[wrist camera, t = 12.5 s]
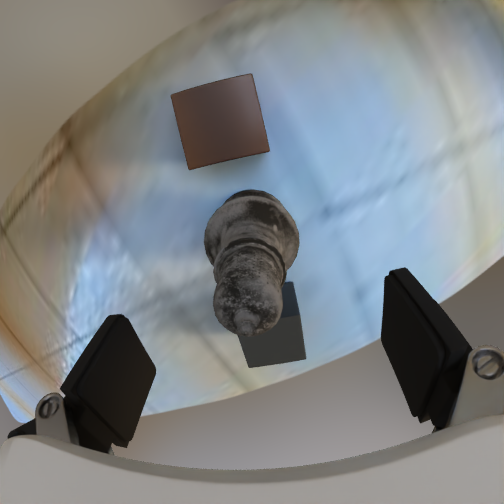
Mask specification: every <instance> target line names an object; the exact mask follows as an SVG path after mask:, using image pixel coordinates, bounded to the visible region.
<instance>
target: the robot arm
mask: <svg viewBox="0 0 504 504" xmlns="http://www.w3.org/2000/svg"><path fill="white" fill-rule="evenodd" d="M381 341H382V345H383V347H384V349H385V351H386V353H387V356H388V358H389V360H390V363H391V365H392V367H393V369H394V372H395V374H396V376H397V379H398V381H399V384H400V386H401V388H402V391H403V393H404V396H405V398H406V401H407V403H408V406H409V409H410V411H411V414H412V415H413V417H416V416H418V419H419V422H420V423H422V422H425V421H428V420H430V419H431V421H432V424H433V425H434V426H435V427H434V430H433V432H432V434H429V435H426V436H423V437H420V438H417V439H415V440H412V441H409V442H406V443H403V444H400V445H397V446H394V447H390V448H387V449H383V450H379V451H375V452H372V453H367V454H363V455H359V456H355V457H351V458H346V459H341V460H336V461H331V462H325V463H319V464H312V465H305V466H297V467H287V468H276V469H257V470H213V469H197V468H185V467H175V466H167V465H160V464H154V463H148V462H142V461H137V460H132V459H126V458H122V457H118V456H115V455H114V452H113V450H112V447H111V444H112V443H113V444H115V445H116V446H120V447H125V448H127V446H128V443H129V441H131V440H132V438H133V435H134V433H135V430H136V427H137V424H138V421H139V418H140V416H141V413H142V410H143V407H144V405H145V402H146V399H147V396H148V394H149V391H150V388H151V386H152V383H153V380H154V378H155V375H156V367H155V365H154V363H153V362H152V360H151V358H150V357H149V355H148V353H147V352H146V350H145V348H144V347H143V345H142V343H141V341H140V339H139V338H138V336H137V334H136V332H135V330H134V329H133V327H132V325H131V323H130V321H129V319H128V318H126V317H125V316H124V315H122V314H117V315H109V316H108V317H107V318H106V319H105V321H104V322H103V324H102V325H101V326H100V328H99V329H98V331H97V332H96V334H95V335H94V336H93V338H92V339H91V341H90V342H89V344H88V345H87V347H86V348H85V350H84V351H83V353H82V354H81V356H80V357H79V359H78V360H77V362H76V364H75V365H74V367H73V368H72V370H71V371H70V373H69V375H68V376H67V378H66V379H65V381H64V383H63V384H62V386H61V388H60V390H61V391H62V392H63V393H64V394H65V395H66V396H65V397H64V398H63V397H62V396H61V395H60V394H59V393H50V394H47V395H46V396H44V397H43V398H42V399H41V400H40V401H39V403H38V404H37V407H36V411H35V419H33V420H31V421H29V422H27V423H26V424H24V425H22V426H20V427H18V428H16V429H15V430H13V431H11V432H10V433H9V435H8V439H7V440H6V441H5V442H4V443H3V444H2V446H1V447H0V504H504V352H503V351H502V350H500V349H499V348H497V347H495V346H492V345H482V346H478V347H476V348H475V349H472V348H471V346H470V345H469V343H468V342H467V341H466V339H465V338H464V336H463V335H462V334H461V332H460V331H459V330H458V328H457V327H456V326H455V324H454V323H453V322H452V320H451V319H450V318H449V317H448V315H447V314H446V313H445V312H444V310H443V309H442V308H441V307H440V305H439V304H438V303H437V302H436V301H435V300H434V299H433V298H432V297H431V296H430V295H429V293H428V292H427V291H426V290H425V289H424V287H423V286H422V285H421V284H420V283H419V282H418V280H417V279H416V278H415V277H414V276H413V275H412V274H411V272H410V271H409V270H408V269H407V268H400V269H395V270H391V271H390V272H389V275H388V276H386V277H385V280H384V302H383V317H382V329H381Z"/></svg>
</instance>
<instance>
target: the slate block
mask: <svg viewBox="0 0 504 504" xmlns="http://www.w3.org/2000/svg"><path fill="white" fill-rule="evenodd" d="M281 293H282V302H283V308H282V312H281V316H280V318H279V320H278V322H277V323H276V325H274V326H273V327H272V328H271V329H270V330H268V331H266V332H265V333H263V334H260V335H257V336H248V337H245V336H240V335H238V338H239V341H240V343H241V346H242V349H243V352H244V355H245V358H246V361H247V364H248V367H249V368H253V367H260V366H267V365H274V364H281V363H287V362H293V361H299V360H304V359H306V353H305V346H304V339H303V332H302V325H301V318H300V312H299V308H298V303H297V298H296V294H295V289H294V284H293V282H288V283H284V284H283V286H282V288H281Z"/></svg>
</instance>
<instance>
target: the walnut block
mask: <svg viewBox="0 0 504 504" xmlns="http://www.w3.org/2000/svg"><path fill="white" fill-rule="evenodd" d="M171 99H172V104H173V108H174V112H175V117H176V121H177V125H178V129H179V133H180V137H181V141H182V145H183V149H184V153H185V157H186V161H187V165H188V169H189V170H192V169H196V168H200V167H204V166H208V165H212V164H216V163H220V162H224V161H228V160H233V159H237V158H242V157H246V156H251V155H256V154H261V153H266V152H269V151H270V149H269V144H268V139H267V135H266V130H265V126H264V121H263V117H262V113H261V108H260V104H259V100H258V96H257V92H256V87H255V83H254V79H253V75H252V74H246V75H241V76H236V77H232V78H228V79H223V80H219V81H215V82H212V83H208V84H204V85H201V86H197V87H194V88H190V89H187V90H184V91H181V92H178V93H174V94H172V95H171Z"/></svg>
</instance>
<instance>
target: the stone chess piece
mask: <svg viewBox="0 0 504 504" xmlns="http://www.w3.org/2000/svg"><path fill="white" fill-rule="evenodd" d="M204 245H205V250H206V254H207V256H208V258H209V260H210V262H211V264H212V265H213V266H214V270H213V273H214V278H215V281H216V283H217V285H216V289H215V293H214V299H213V307H214V312H215V316H216V317H217V319H218V321H219V322H220V323H221V324H222V325H223V326H224V327H225V328H226V329H227V330H229V331H231V332H232V333H234V334H237V335H240V336H245V337H248V336H257V335H260V334H263V333H265V332H266V331H268V330H270V329H271V328H272V327H273V326H274V325H276V323H277V322H278V320H279V318H280V316H281V312H282V308H283V302H282V293H281V288H282V286H283V284H284V282H285V278H286V271H287V270H288V269H289V268H290V267H291V265H292V264H293V262H294V260H295V258H296V256H297V253H298V248H299V232H298V229H297V227H296V224H295V221H294V220H293V218H292V217H291V215H290V214H289V213H288V211H287V210H286V209H285V208H284V207H283V205H282V204H281V203H280V201H279V200H278V199H276V198H275V197H274V196H272V195H271V194H268V193H266V192H264V191H259V190H246V191H242V192H239V193H236V194H234V195H233V196H231V197H230V198H229V199H227V200H226V202H225V203H224V204H223V205H222V206H221V207H220V208H218V209H217V210H216V212H215V213H214V214H213V215H212V217H211V218H210V219H209V222H208V224H207V227H206V230H205V237H204Z"/></svg>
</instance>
